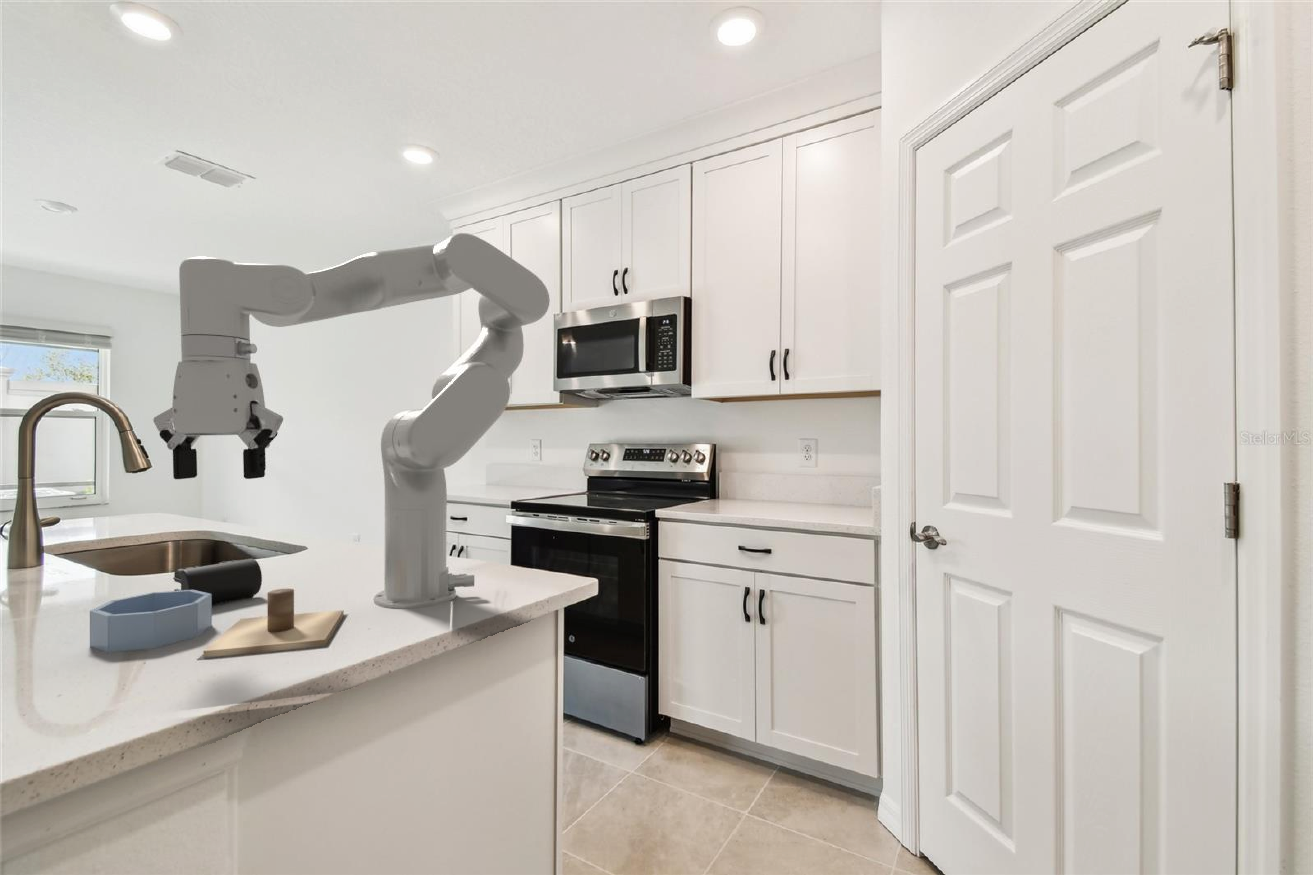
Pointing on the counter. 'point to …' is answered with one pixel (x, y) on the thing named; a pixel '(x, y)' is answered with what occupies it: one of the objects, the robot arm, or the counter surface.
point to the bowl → (150, 620)
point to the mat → (288, 649)
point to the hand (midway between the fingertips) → (220, 478)
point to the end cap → (222, 579)
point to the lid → (276, 629)
